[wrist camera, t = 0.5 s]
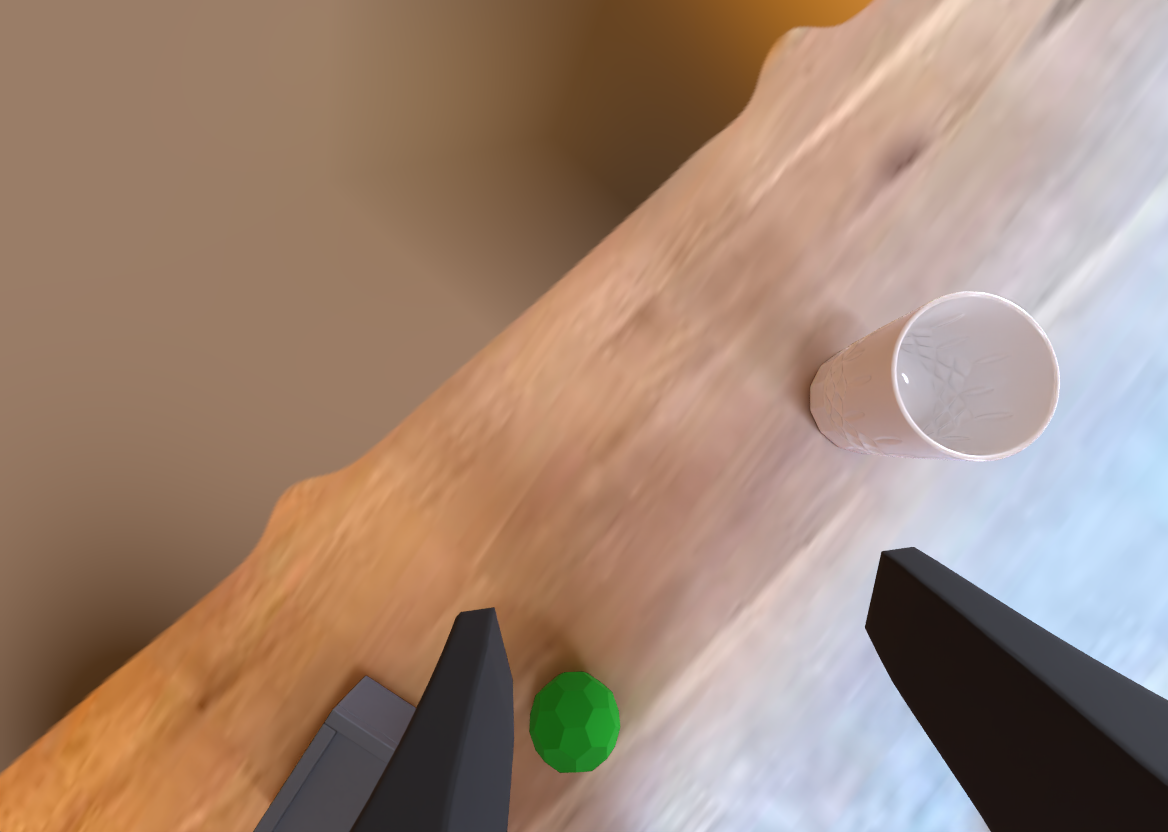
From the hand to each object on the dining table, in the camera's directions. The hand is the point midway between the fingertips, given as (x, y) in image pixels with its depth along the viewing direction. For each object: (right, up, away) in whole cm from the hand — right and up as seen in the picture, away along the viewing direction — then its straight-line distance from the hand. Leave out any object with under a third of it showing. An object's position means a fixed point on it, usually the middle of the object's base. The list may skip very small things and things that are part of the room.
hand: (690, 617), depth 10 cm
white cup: (+16, +5, +25) cm, 30 cm away
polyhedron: (-3, -13, +23) cm, 26 cm away
